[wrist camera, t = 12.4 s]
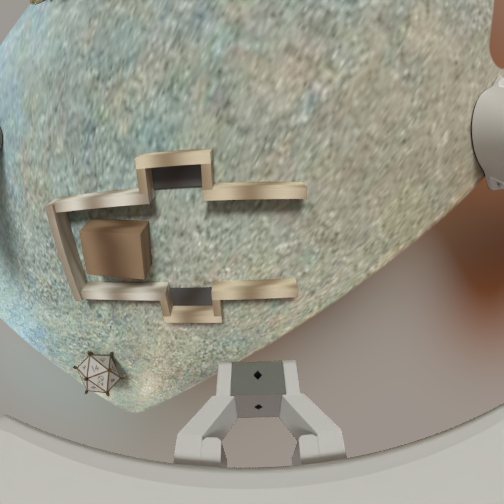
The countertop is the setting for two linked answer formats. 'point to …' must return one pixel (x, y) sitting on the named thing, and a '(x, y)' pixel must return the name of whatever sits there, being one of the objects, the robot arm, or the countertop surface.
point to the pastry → (33, 0)
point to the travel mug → (0, 138)
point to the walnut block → (116, 248)
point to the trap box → (149, 178)
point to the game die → (98, 373)
